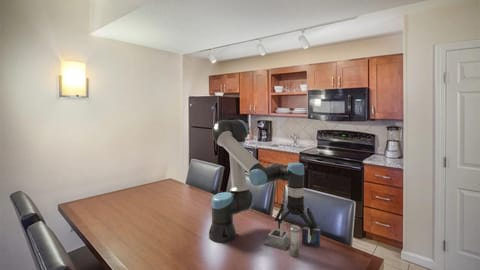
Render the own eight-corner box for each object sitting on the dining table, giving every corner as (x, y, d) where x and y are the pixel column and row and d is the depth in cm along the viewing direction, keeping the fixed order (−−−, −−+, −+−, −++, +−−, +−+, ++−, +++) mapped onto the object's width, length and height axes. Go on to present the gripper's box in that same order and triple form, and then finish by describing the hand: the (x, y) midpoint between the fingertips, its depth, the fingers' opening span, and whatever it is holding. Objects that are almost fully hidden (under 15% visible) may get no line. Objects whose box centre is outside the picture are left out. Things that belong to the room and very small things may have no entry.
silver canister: (287, 255, 127) (288, 228, 125) (290, 251, 131) (291, 224, 130) (298, 258, 124) (298, 230, 123) (300, 253, 129) (301, 226, 128)
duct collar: (263, 244, 137) (263, 235, 137) (271, 235, 148) (272, 226, 148) (285, 250, 132) (285, 241, 131) (292, 240, 142) (292, 231, 142)
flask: (319, 245, 137) (320, 225, 136) (320, 247, 134) (320, 227, 133) (301, 243, 139) (302, 223, 138) (301, 245, 136) (302, 226, 135)
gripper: (268, 193, 128) (268, 236, 129) (321, 201, 116) (320, 247, 118) (273, 189, 134) (273, 230, 136) (324, 196, 123) (323, 240, 124)
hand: (295, 238), depth 127 cm, fingers open, 13 cm apart
